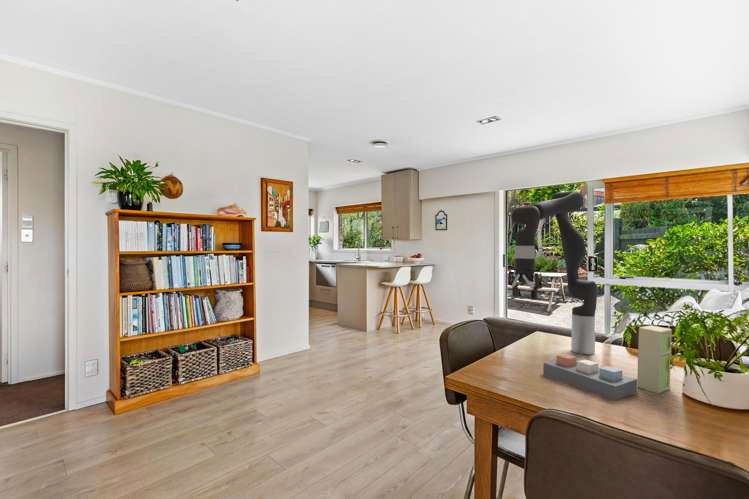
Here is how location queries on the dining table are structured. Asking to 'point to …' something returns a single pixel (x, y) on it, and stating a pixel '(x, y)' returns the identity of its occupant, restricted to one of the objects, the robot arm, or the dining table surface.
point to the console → (591, 381)
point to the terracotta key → (566, 360)
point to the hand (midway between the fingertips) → (524, 298)
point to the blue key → (610, 373)
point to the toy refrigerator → (654, 358)
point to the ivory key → (587, 366)
